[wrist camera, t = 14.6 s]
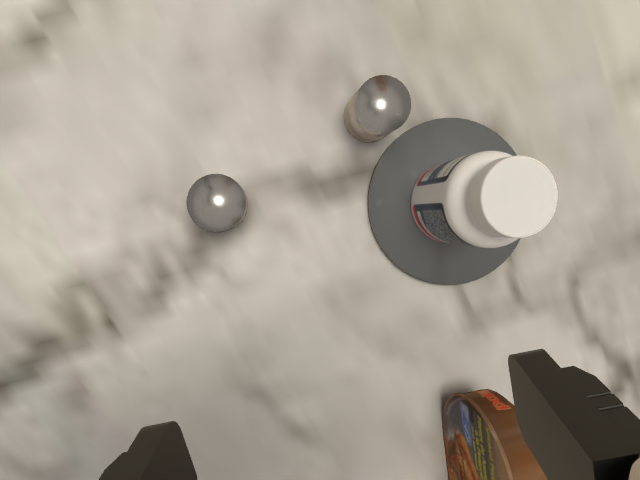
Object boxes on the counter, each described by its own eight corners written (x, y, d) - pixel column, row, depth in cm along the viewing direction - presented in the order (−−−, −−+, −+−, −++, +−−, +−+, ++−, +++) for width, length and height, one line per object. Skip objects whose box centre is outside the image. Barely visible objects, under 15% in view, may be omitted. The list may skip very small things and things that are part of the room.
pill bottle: (477, 248, 32) (560, 261, 23) (403, 235, 31) (459, 245, 23) (491, 169, 32) (580, 153, 23) (416, 155, 31) (478, 133, 22)
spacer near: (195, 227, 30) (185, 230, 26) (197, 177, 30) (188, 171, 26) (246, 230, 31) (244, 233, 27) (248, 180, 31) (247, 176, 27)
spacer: (342, 140, 31) (354, 129, 27) (345, 90, 31) (358, 72, 27) (390, 144, 32) (409, 134, 28) (393, 94, 31) (412, 78, 27)
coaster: (362, 280, 32) (364, 281, 31) (373, 113, 31) (375, 111, 31) (518, 286, 33) (522, 287, 33) (530, 126, 33) (535, 124, 32)
